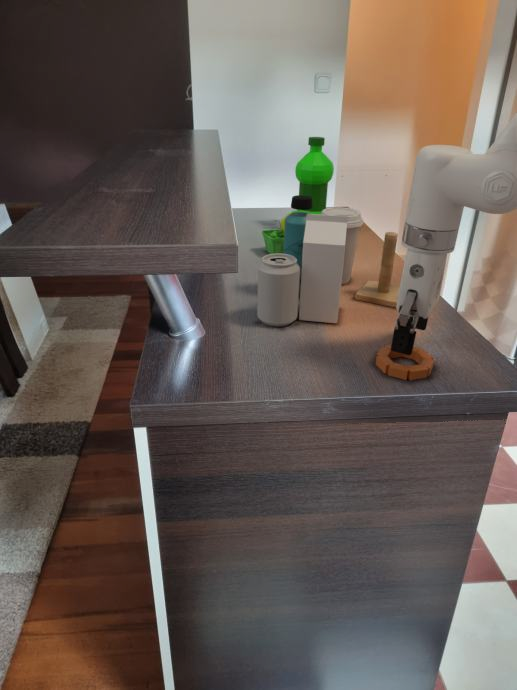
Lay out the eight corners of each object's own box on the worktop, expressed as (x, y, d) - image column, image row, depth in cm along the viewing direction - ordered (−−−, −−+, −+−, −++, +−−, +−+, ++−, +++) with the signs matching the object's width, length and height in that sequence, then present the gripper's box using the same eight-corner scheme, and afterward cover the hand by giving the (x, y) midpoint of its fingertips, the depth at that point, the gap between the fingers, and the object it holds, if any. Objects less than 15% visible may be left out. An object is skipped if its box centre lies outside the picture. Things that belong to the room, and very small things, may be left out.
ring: (436, 360, 83) (437, 352, 82) (424, 385, 77) (426, 376, 76) (385, 348, 87) (386, 339, 86) (370, 370, 80) (371, 361, 79)
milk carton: (337, 324, 94) (347, 221, 85) (298, 320, 95) (304, 219, 86) (338, 308, 100) (348, 211, 91) (302, 305, 102) (308, 209, 92)
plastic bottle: (303, 237, 142) (309, 141, 130) (287, 227, 151) (291, 136, 139) (335, 233, 146) (343, 139, 134) (317, 224, 154) (323, 134, 142)
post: (409, 293, 108) (420, 231, 102) (398, 308, 101) (408, 243, 95) (368, 285, 112) (375, 225, 105) (354, 299, 105) (362, 236, 98)
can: (292, 310, 100) (295, 250, 94) (301, 327, 93) (305, 264, 87) (254, 312, 98) (254, 251, 93) (260, 329, 92) (262, 266, 86)
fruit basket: (300, 245, 135) (303, 202, 130) (315, 256, 128) (318, 211, 123) (260, 250, 132) (260, 205, 126) (273, 261, 124) (274, 214, 119)
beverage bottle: (273, 293, 107) (277, 195, 97) (295, 285, 111) (301, 191, 101) (296, 303, 103) (302, 201, 93) (318, 294, 107) (326, 196, 97)
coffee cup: (309, 284, 111) (314, 215, 104) (317, 269, 119) (322, 204, 112) (354, 289, 109) (362, 219, 102) (358, 274, 117) (366, 208, 110)
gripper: (444, 258, 66) (419, 370, 75) (465, 226, 80) (442, 324, 88) (387, 247, 69) (370, 356, 78) (417, 219, 83) (399, 314, 91)
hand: (408, 339), depth 83 cm, fingers open, 9 cm apart
